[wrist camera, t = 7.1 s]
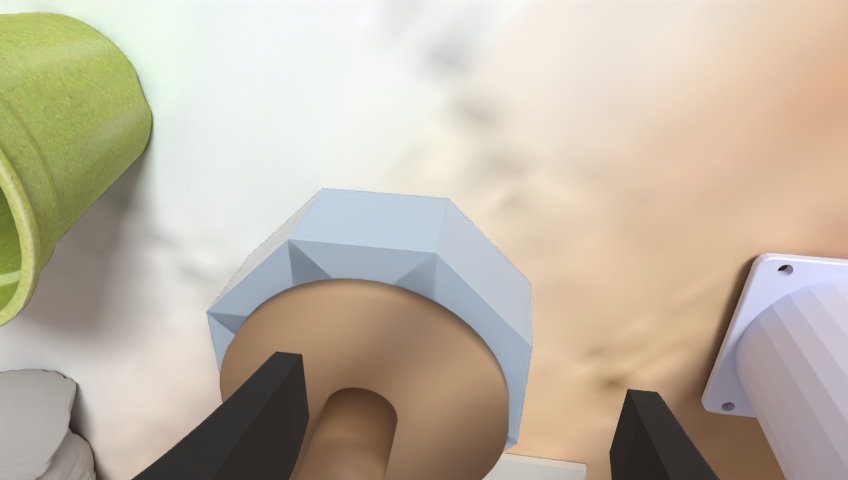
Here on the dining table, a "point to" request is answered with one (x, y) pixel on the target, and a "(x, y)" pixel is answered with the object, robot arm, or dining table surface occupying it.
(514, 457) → the mat
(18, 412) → the grey clay mound
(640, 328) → the dining table surface
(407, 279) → the bowl
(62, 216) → the plant pot
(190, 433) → the robot arm
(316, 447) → the lid
